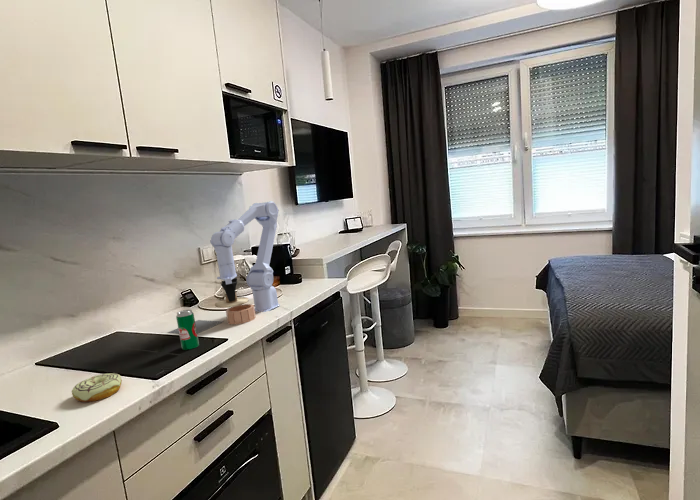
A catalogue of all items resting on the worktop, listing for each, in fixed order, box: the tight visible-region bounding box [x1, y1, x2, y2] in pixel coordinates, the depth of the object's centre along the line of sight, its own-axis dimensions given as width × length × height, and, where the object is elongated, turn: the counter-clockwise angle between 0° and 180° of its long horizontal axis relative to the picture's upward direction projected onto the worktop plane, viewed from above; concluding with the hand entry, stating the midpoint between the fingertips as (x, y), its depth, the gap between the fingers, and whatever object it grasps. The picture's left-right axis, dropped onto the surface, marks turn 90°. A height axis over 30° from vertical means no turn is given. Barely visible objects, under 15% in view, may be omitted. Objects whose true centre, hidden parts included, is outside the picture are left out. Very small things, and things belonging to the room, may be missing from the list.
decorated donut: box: [71, 372, 123, 403], centre depth 100 cm, size 10×11×4 cm
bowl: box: [225, 303, 257, 325], centre depth 149 cm, size 10×10×5 cm
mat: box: [167, 319, 225, 335], centre depth 147 cm, size 14×14×1 cm
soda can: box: [175, 309, 200, 351], centre depth 125 cm, size 5×5×12 cm
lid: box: [214, 291, 249, 309], centre depth 148 cm, size 12×12×4 cm
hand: (232, 299), depth 148 cm, fingers closed on lid, 4 cm apart
